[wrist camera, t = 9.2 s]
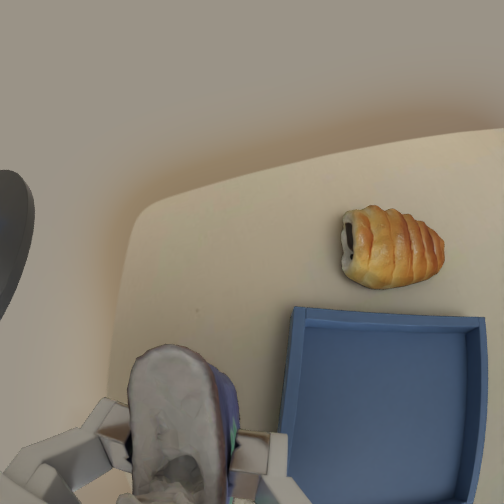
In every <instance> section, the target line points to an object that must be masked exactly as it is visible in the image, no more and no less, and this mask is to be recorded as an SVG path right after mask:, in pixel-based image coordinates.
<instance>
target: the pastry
mask: <svg viewBox="0 0 504 504" xmlns="http://www.w3.org/2000/svg"><path fill="white" fill-rule="evenodd" d="M343 224H344V227H343V231H342V232H341V242H342V247H343V251H344V255H343V257H342V270H343V271H344V273H345V274H346V276H347V277H349V278H350V279H352V280H353V281H355V282H357V283H359V284H361V285H363V286H365V287H368V288H371V289H382V290H384V289H388V288H395V287H402V286H406V285H410V284H413V283H417V282H420V281H424V280H427V279H429V278H430V277H432V276H433V275H435V274H437V273H438V272H439V270H440V269H441V267H442V265H443V263H444V260H445V256H444V241H443V240H442V239H441V238H440V237H439V236H438V234H437V233H436V232H435V231H434V230H432V229H431V228H429V227H428V226H426V224H425V223H424V222H423V221H416V220H414V218H413V217H412V216H411V215H410V214H401V213H400V212H398V211H397V210H395V209H388V210H386V211H383V210H382V209H381V208H380V207H378V206H376V205H370V206H368V207H366V208H364V209H362V210H357V209H356V210H352V211H347V212H346V213H345V215H344V216H343Z"/></svg>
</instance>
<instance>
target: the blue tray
mask: <svg viewBox="0 0 504 504" xmlns="http://www.w3.org/2000/svg"><path fill="white" fill-rule="evenodd" d="M487 403H488V353H487V336H486V324H485V317H457V316H427V315H405V314H387V313H371V312H357V311H344V310H331V309H320V308H308V307H307V308H306V307H297V306H295V307H294V309H293V312H292V315H291V317H290V327H289V337H288V347H287V357H286V366H285V375H284V383H283V391H282V400H281V408H280V415H279V423H278V430H277V433H284V434H287V435H288V452H287V477H292V478H293V480H294V481H295V482H296V484H297V485H298V486H299V487H300V489H301V490H302V491H303V493H304V494H305V495H306V496H307V498H308V499H309V500H310V502H311V503H312V504H473V502H474V497H475V493H476V489H477V484H478V479H479V474H480V468H481V462H482V456H483V448H484V440H485V431H486V419H487Z"/></svg>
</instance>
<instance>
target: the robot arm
mask: <svg viewBox="0 0 504 504" xmlns="http://www.w3.org/2000/svg"><path fill="white" fill-rule="evenodd" d="M287 452H288V435H287V434H284V433H272V432H271V433H270V432H265V431H255V430H246V429H237V432H236V437H235V444H234V450H233V451H232V457H231V462H230V467H229V475H228V481H229V483H228V497H233V498H240V499H247V500H254V501H255V503H256V504H312V503H311V502H310V500H309V499H308V498H307V496H306V495H305V494H304V493H303V491H302V490H301V489H300V487H299V486H298V485H297V484H296V482H295V481H294V480H293V478H292V477H287ZM132 453H133V445H132V435H131V427H130V414H129V407H128V405H127V404H124V403H121V402H118V401H115V400H112V399H109V398H106V397H104V398H102V399H101V400H100V401H99V402H98V404H97V405H96V407H95V408H94V409H93V411H92V413H91V414H90V415H89V417H88V418H87V420H86V421H85V422H84V424H83V425H82V427H81V428H77V427H76V428H73V429H71V430H68V431H66V432H63V433H61V434H58V435H56V436H53V437H51V438H48V439H45V440H43V441H40V442H37V443H35V444H32V445H29V446H26V447H24V448H22V449H21V450H20V451H19V453H18V454H17V455H16V457H15V458H14V459H13V460H12V462H11V463H10V465H9V466H8V467H7V468H6V470H5V471H4V472H3V473H2V472H1V471H0V504H82V503H81V502H80V500H78V498H77V497H76V496H75V494H74V493H73V492H74V491H76V490H78V489H79V488H81V487H83V486H85V485H87V484H88V483H90V482H92V481H93V480H95V479H97V478H98V477H100V476H101V475H103V474H104V473H106V472H108V471H109V470H111V469H112V467H113V468H116V469H119V470H122V471H125V472H129V473H132V472H131V470H132V468H133V463H132Z"/></svg>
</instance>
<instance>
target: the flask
mask: <svg viewBox="0 0 504 504" xmlns="http://www.w3.org/2000/svg"><path fill="white" fill-rule="evenodd" d="M127 395H128V407H129V414H130V427H131V435H132V445H133V453H132V463H133V468H132V470H131V472H132V480H133V493H132V494H130V493H125V494H122V495H119V497H118V499H117V501H116V504H234V503H233V502H234V498H233V497H228V483H229V481H228V475H229V467H230V462H231V457H232V451H233V450H234V444H235V437H236V432H237V429H240V423H239V422H240V421H239V420H240V414H239V406H238V399H237V392H236V389H235V386H234V385H233V383H232V381H231V380H230V379H229V377H228V376H227V375H226V374H224V373H221V372H219V371H218V369H217V368H215V367H214V366H212V365H210V364H209V363H207V362H206V361H205V360H204V358H203V357H202V356H201V355H200V354H199V353H197V352H194V351H192V350H190V349H189V348H187V347H184V346H179V345H174V344H164V345H161V346H158V347H155V348H152V349H150V350H147V351H146V352H145V353H144V354H143V355H142V356H140V357H137V358H136V361H135V363H134V365H133V368H132V370H131V374H130V379H129V383H128V388H127Z"/></svg>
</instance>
